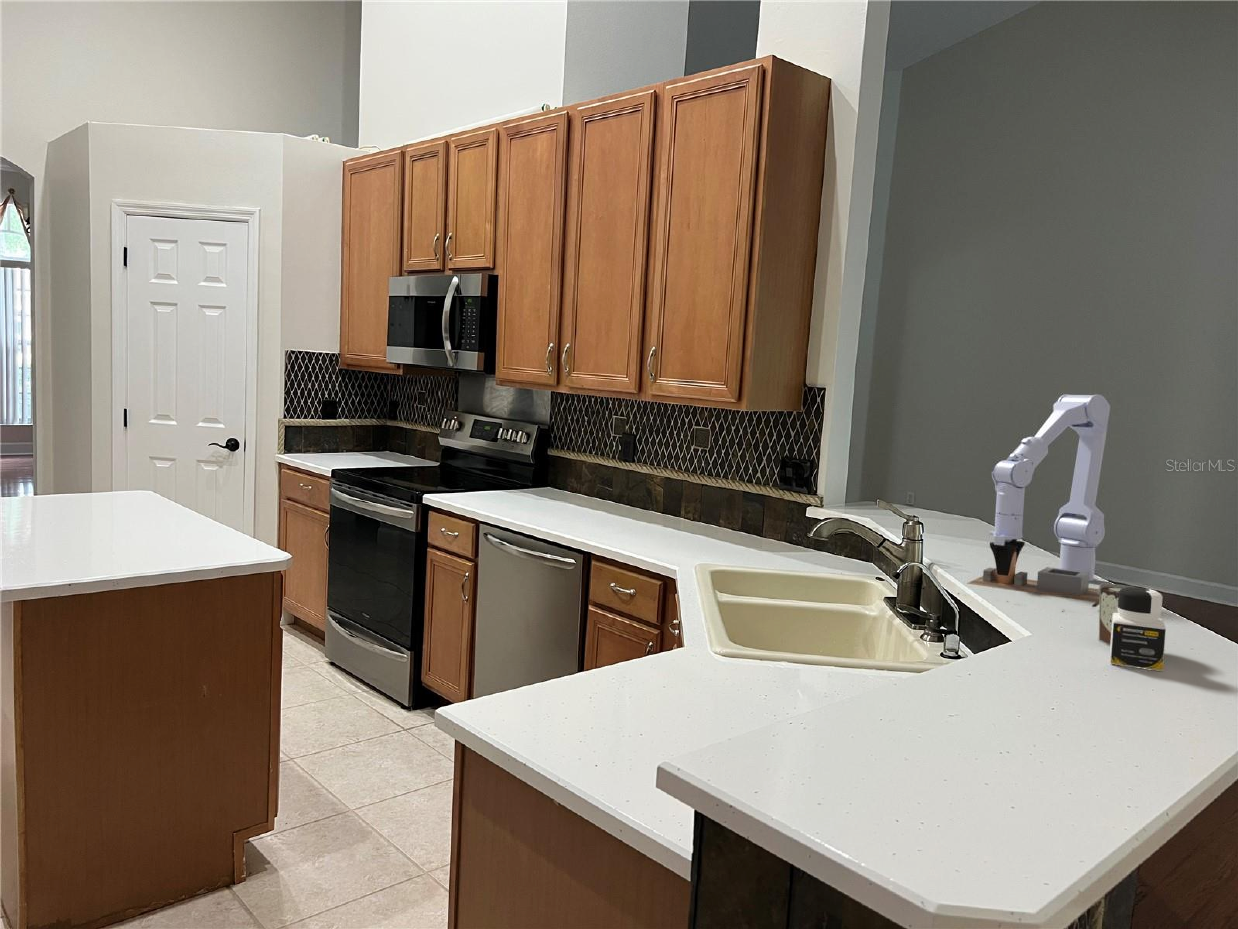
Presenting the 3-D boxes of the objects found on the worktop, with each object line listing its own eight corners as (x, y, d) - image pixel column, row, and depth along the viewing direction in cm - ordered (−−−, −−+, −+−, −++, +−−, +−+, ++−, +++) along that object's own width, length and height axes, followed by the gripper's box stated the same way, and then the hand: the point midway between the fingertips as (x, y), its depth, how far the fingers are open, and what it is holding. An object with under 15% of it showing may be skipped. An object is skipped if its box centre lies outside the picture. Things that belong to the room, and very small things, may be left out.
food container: (1170, 659, 148) (1175, 599, 147) (1132, 658, 148) (1137, 597, 147) (1129, 639, 160) (1133, 583, 159) (1094, 638, 160) (1098, 582, 160)
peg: (998, 579, 208) (1000, 549, 208) (1016, 582, 206) (1018, 551, 205) (993, 581, 205) (995, 551, 204) (1011, 584, 202) (1013, 553, 202)
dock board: (987, 578, 215) (988, 563, 215) (1109, 595, 200) (1111, 579, 199) (966, 587, 203) (967, 572, 202) (1096, 606, 187) (1097, 590, 187)
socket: (1045, 584, 204) (1047, 567, 204) (1088, 590, 199) (1089, 572, 198) (1036, 590, 197) (1037, 572, 197) (1080, 596, 192) (1081, 577, 192)
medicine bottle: (1110, 665, 143) (1115, 590, 143) (1109, 654, 150) (1114, 582, 149) (1162, 672, 140) (1168, 596, 139) (1159, 661, 146) (1165, 588, 146)
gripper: (999, 509, 212) (995, 567, 213) (981, 514, 201) (977, 575, 202) (1031, 512, 208) (1027, 571, 209) (1015, 518, 197) (1011, 580, 197)
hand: (1005, 573), depth 205 cm, fingers closed on peg, 4 cm apart
